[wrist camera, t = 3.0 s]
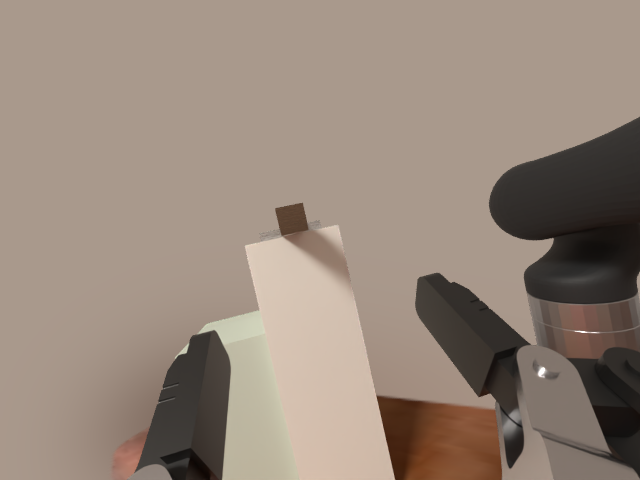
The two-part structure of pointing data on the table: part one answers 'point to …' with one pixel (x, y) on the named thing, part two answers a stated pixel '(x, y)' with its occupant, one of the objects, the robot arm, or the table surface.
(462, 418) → the table surface
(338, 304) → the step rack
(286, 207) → the turner
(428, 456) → the table surface
